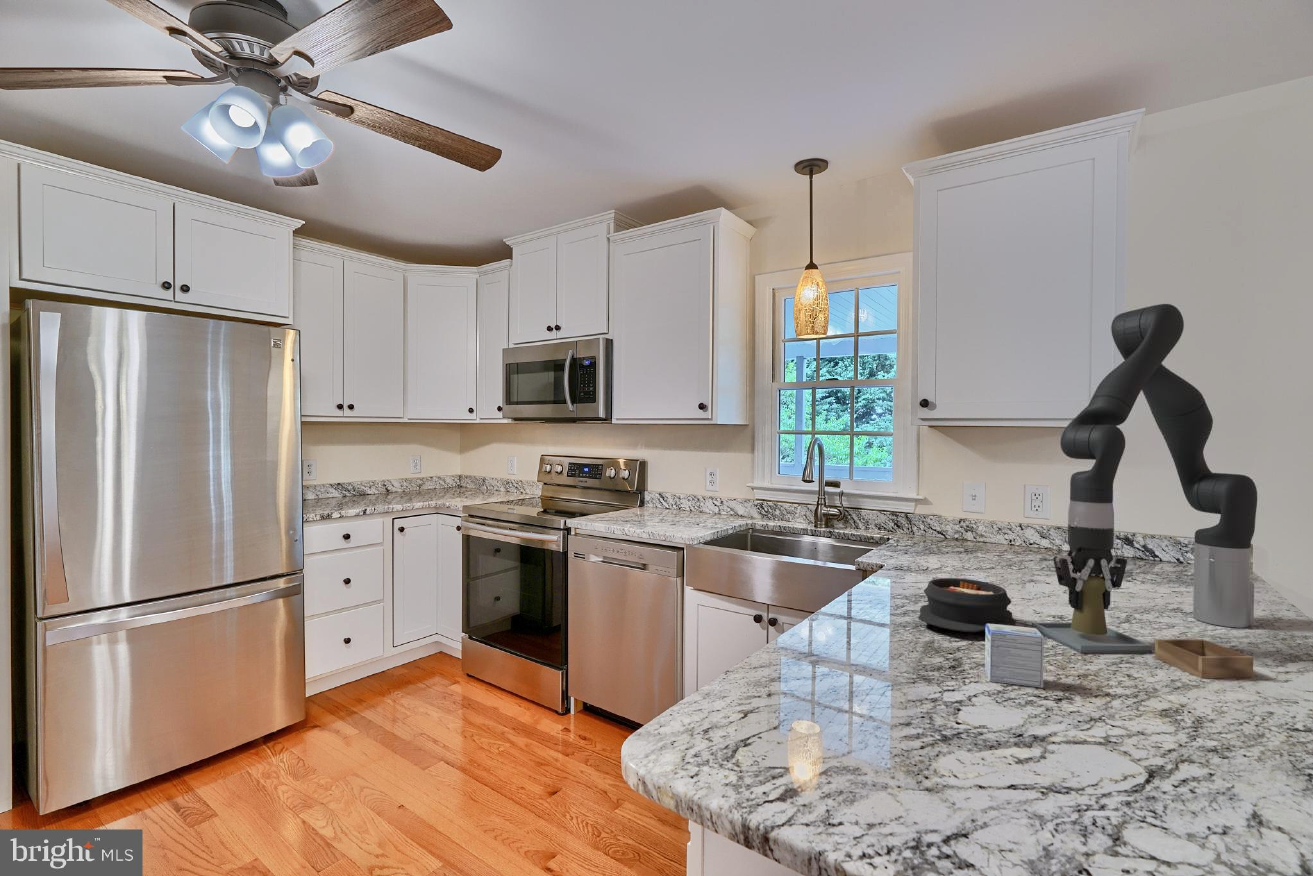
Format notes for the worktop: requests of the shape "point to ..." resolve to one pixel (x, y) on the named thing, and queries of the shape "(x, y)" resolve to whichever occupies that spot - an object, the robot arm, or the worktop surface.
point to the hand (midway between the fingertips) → (1089, 608)
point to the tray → (1091, 639)
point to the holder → (1204, 658)
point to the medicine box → (1014, 655)
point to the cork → (1091, 608)
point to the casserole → (965, 605)
